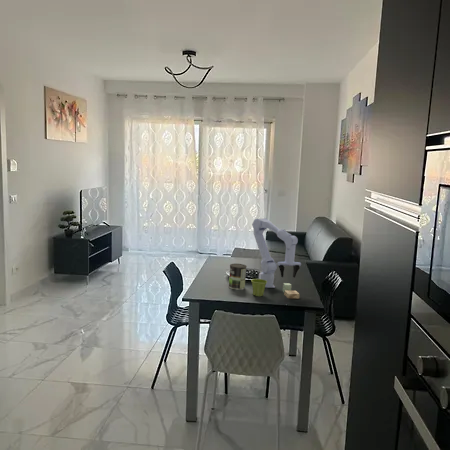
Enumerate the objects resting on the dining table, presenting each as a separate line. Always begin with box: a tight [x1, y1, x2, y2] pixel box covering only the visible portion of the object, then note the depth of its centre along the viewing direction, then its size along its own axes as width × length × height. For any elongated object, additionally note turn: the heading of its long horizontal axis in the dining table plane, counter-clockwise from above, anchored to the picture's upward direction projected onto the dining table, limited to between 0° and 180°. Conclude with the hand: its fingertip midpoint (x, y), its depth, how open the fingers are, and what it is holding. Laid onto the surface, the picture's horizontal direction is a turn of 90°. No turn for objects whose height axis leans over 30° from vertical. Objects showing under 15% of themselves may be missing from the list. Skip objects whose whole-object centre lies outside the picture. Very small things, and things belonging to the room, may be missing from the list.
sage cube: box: [282, 282, 292, 293], centre depth 265 cm, size 4×4×5 cm
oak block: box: [283, 290, 300, 299], centre depth 256 cm, size 7×7×3 cm
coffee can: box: [228, 263, 247, 291], centre depth 267 cm, size 10×10×14 cm
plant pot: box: [250, 278, 267, 297], centre depth 254 cm, size 9×9×9 cm
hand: (288, 277), depth 264 cm, fingers open, 7 cm apart
